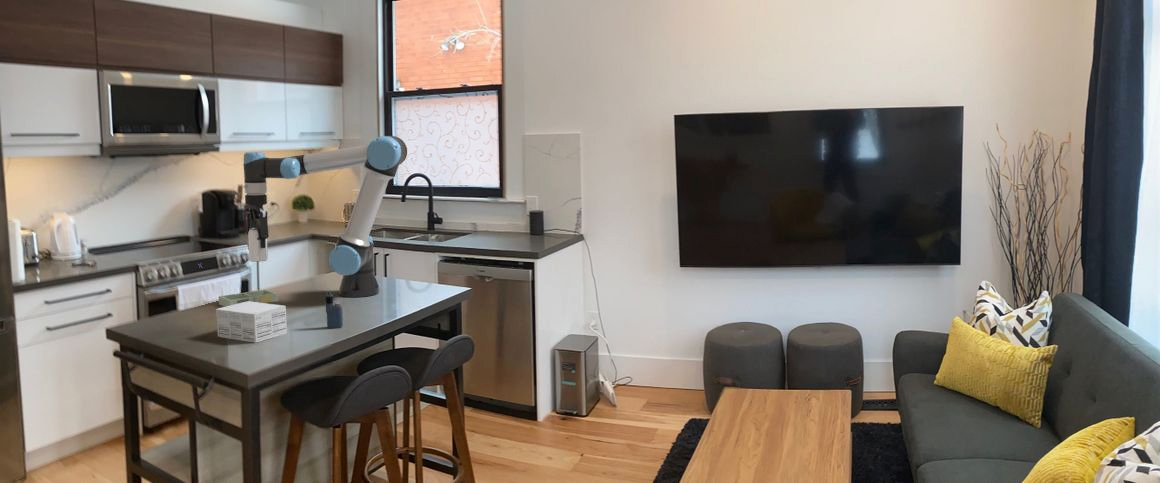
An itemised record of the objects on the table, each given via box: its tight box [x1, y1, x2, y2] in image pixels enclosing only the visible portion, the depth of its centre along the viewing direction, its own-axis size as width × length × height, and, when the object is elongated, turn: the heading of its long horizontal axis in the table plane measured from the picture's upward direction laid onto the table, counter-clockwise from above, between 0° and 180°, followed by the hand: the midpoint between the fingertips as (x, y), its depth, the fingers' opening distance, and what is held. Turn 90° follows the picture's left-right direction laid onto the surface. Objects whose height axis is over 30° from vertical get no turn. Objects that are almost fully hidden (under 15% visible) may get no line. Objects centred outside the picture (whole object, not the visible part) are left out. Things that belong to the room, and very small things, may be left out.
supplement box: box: [215, 301, 288, 344], centre depth 258 cm, size 17×13×9 cm
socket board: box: [218, 288, 279, 307], centre depth 302 cm, size 10×18×3 cm, turn 135°
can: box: [247, 228, 268, 263], centre depth 303 cm, size 6×6×12 cm
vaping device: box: [324, 291, 344, 329], centre depth 267 cm, size 3×5×12 cm, turn 95°
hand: (258, 255), depth 304 cm, fingers closed on can, 6 cm apart
